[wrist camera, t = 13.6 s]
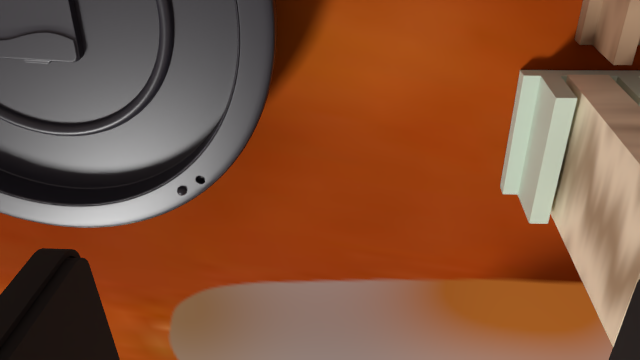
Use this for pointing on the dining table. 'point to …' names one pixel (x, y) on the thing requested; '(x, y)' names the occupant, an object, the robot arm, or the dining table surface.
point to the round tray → (126, 103)
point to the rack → (610, 28)
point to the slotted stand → (545, 134)
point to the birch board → (602, 195)
